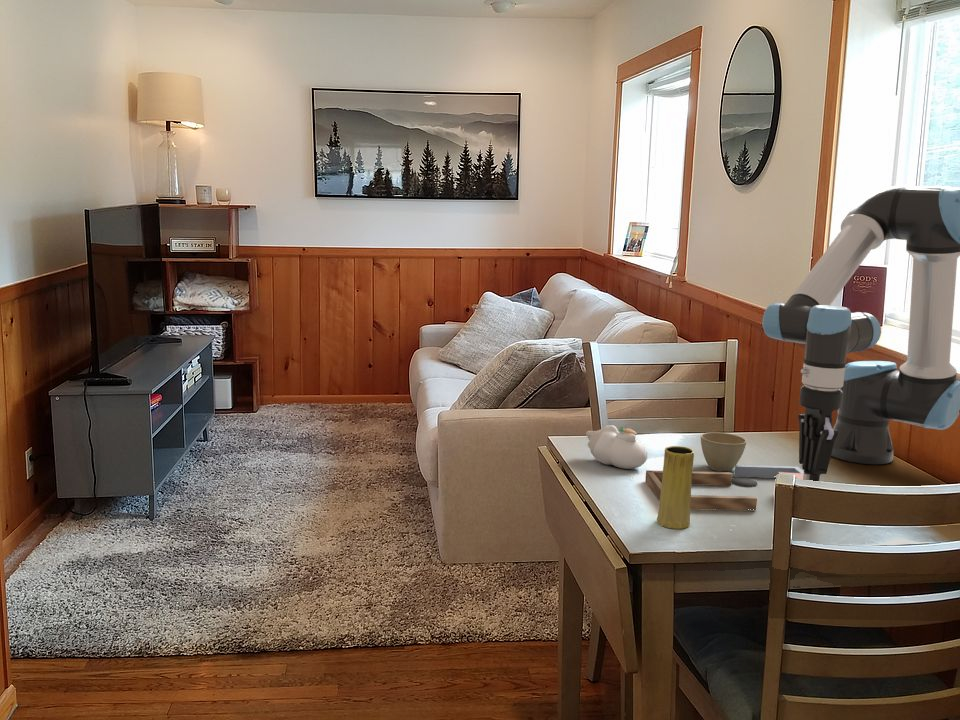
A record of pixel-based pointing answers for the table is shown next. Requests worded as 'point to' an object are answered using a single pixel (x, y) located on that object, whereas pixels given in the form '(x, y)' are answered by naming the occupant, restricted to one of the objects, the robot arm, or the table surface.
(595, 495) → the table surface
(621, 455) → the white rounded lumpy piece
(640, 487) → the table surface
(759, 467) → the bay
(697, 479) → the wooden frame
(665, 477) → the vase
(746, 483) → the hole marker
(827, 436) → the robot arm
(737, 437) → the beige bowl
